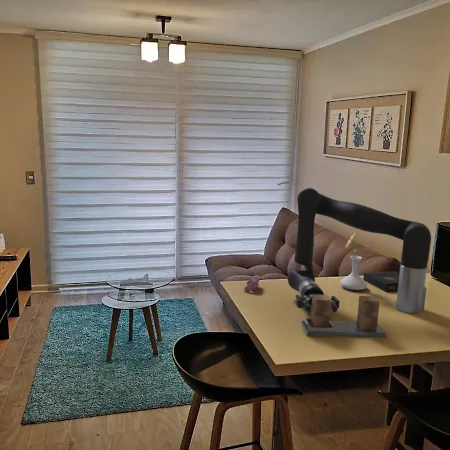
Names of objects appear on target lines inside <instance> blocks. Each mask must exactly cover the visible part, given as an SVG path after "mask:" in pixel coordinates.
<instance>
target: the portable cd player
mask: <svg viewBox="0 0 450 450" xmlns="http://www.w3.org/2000/svg"><path fill="white" fill-rule="evenodd" d="M399 275H400V272H398V271H395V270H391V271H370V272H363V277H362V279H363V280H364V281H365V282H366V283H367V284H369V285H371V286H373V287H375V288H377V289H378V290H381V291H383V292H385V293H388V292H389V293H390V292H391V293H392V292H398V284H399Z"/></svg>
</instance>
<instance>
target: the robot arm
mask: <svg viewBox="0 0 450 450" xmlns="http://www.w3.org/2000/svg"><path fill="white" fill-rule="evenodd" d="M296 203H297V211H298V220H297V221H298V223H297V233H296V241H295V251H294V262H295V264H299V265H301V266H303V267H304V268H305V270H300V269H292V270H290V272H289V273H288V274H287V283H288V285H289V287H290V288H291V289H293V290H295V291H296V292H297V293H299V294H296V295H295V305H296V306H297V309H298V308H299V309H301V308H303V309H304V310H305V311H307V313H311V306H312V295H325V293H324V291H323V290H322V289H321V287H320V286H319V285H318V283H316V277H315V276H316V275H315V271H314V265H313V263H314V262H313V260H314V259H313V257H314V250H315V249H314V247H315V246H314V245H315V220H316V215H319V216H323V217H328V218H331V219H333V220H335V221H338V222H340V223H342V224H344V225H347V226H348V227H352V228H354V229H357V230H360V231H363V232H367V233H374V234H381V235H388V236H391V237H394V238H397V239H399V240H401V241H403V242H402V252H401V257H400V267H399V273H400V275H399V284H398V291H396V292H397V293H396V302H395V303H396V304H395V308H396V309H397V310H398V311H401V312H403V313H408V314H421V313H424V312H425V305H426V296H427V291H428V290H427V287H426V286H425V285H426V277H427V270H428V264H429V258H430V252H431V250H430V249H431V244H432V243H431V242H432V235H431V231H430V229H429V228H428V226H427V225H426V224H424V223H422V222H419V221H418V222H417V221H412V220H408V219H403V218H399V217H395V216H393V215H390V214H388V213H385V212H382V211H381V210H377V209H375V208H372V207H369V206H366V205H362V204H359V203H355V202H349V201H343V200H338V199H337V200H336V199H333V198H331V197H329V196H326V195H325V194H324V195H323V194H321V193H320V192H318V191H317V190H316V189H314V188H312V187H306V188H304V189H303V188H302V190H301V191H300V192H299V193H298V195H297V197H296ZM330 299H331V300H332V303H331V309H330V311H332V313H334V314H335V313H337V312H338V309H340V300H339V298H337V297H336V296H335V295H331V296H330Z"/></svg>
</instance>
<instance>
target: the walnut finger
mask: <svg viewBox="0 0 450 450" xmlns="http://www.w3.org/2000/svg"><path fill="white" fill-rule="evenodd" d="M330 298H331V296H329V295H327V294H324V295H312V306H311V310H310V323H311V325H312V327H321V328H329V321H331V320H330V318H331V303H332V300H331V299H330Z"/></svg>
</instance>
